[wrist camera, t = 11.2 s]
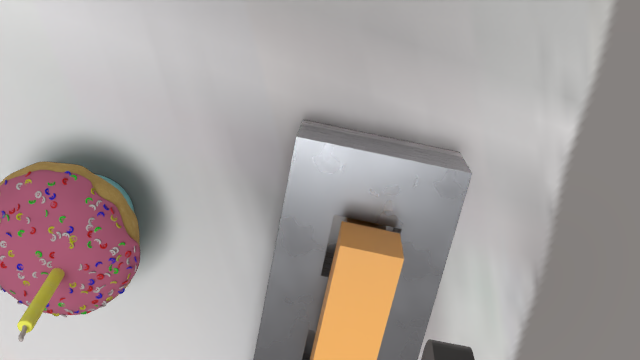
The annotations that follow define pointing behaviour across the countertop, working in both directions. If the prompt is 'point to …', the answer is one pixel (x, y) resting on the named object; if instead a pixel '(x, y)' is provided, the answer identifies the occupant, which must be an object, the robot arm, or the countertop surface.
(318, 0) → the countertop surface
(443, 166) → the metal panel
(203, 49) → the countertop surface
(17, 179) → the cupcake
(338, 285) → the orange arch block
